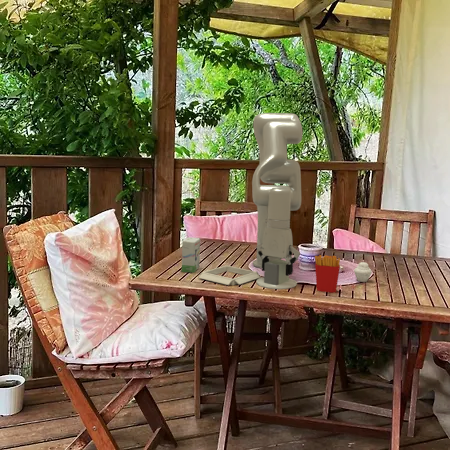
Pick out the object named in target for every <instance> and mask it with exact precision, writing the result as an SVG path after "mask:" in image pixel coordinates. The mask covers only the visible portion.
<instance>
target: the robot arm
mask: <svg viewBox="0 0 450 450" xmlns="http://www.w3.org/2000/svg"><path fill="white" fill-rule="evenodd" d="M252 125H253V133H254V137H255V140H256V144H257V146H258V150H259V155H258V156H259V164H258V165H257V167H256V168H255V171H254V173H253V175H252V180H251V185H252V186H251V187H252V192H251V193H252V201H253V203H254V204H255V206H256V209H257V233H256V234H257V235H256V237H257V238H256V259H255V260H253V261H252V265H253V266H254V267H255V268H259V269H261V270H262V271H263V272H264V267H265V263H266V262H270V261H273V260H276V259H279V260H285V261H286V262H287V263H288V264H286V276H289V277H290V276H292V274H293V273H294V264H295V263H296V262H297V261H298V259H299V257H300V255H301V252H300V251H299V250H297V249H296V248H295V247H293V246H294V245H293V243H294V242H293V232H292V228H290V227H291V226H290V225H291V223H290V222H291V211H298V210H299V209H301V205H302V178H301V177H302V176H301V173H302V172H301V166H300V163H299V162H298V161H297V160H295V159H288V151H287V149H288V148H287V147H288V145H298V144H300V143H301V142H302V139H303V126H302V122H301V120H300V119H299V116H298V115H297V114H295V113H291V112H290V113H289V112H287V113H285V112H284V113H283V112H263V113H259V114H257V115H255V116H254V118H253V124H252ZM261 182H263V183H265V184H261ZM267 184H268V185H267ZM273 184H274V185H273ZM277 184H278V185H277ZM279 184H283V185H279ZM284 184H285V185H284ZM286 184H287V185H286Z"/></svg>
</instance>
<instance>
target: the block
mask: <svg viewBox="0 0 450 450" xmlns="http://www.w3.org/2000/svg"><path fill="white" fill-rule="evenodd" d="M286 264H288V263H287V262H286V260H285V259H281V260H279V259H276V260H273V261H270V262H266V263H265V267H264V271H263V275H264V283H268V284H272V285H279V284H281V283H284V282H287V281H289V278H290V275H289V276H286Z"/></svg>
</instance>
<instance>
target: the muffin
mask: <svg viewBox="0 0 450 450" xmlns="http://www.w3.org/2000/svg"><path fill="white" fill-rule="evenodd" d="M353 272H354V276H355V278H356V280H357V281H358V282H361V283H366V282H367V281H369V278H370V277H371V274H373V273H372V269H371V268H370V267H369V264H368V263H367V262H364V261H362V262H358V264H357V266H356V267H355V268H354V270H353Z"/></svg>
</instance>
